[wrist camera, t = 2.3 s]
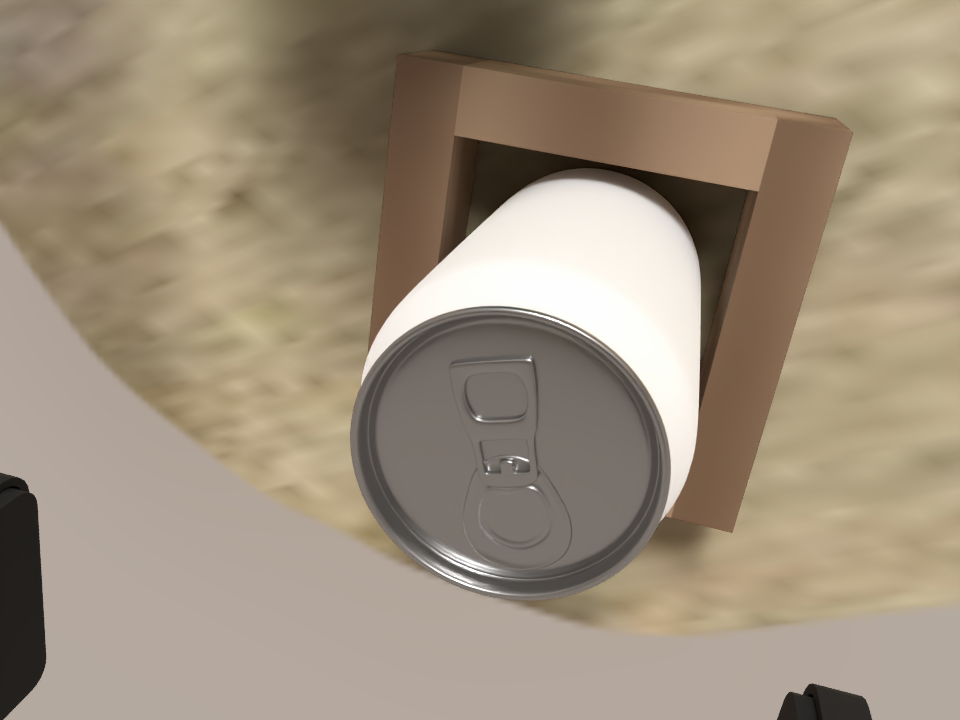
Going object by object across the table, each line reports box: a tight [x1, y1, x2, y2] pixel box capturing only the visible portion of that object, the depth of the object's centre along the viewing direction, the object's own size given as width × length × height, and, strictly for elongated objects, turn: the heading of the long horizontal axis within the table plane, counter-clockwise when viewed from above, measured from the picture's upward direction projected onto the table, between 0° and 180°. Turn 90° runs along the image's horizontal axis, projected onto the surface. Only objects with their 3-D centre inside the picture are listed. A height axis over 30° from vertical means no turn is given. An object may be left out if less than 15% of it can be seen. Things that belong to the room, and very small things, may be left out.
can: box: [350, 168, 701, 601], centre depth 21 cm, size 6×6×12 cm
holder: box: [368, 50, 853, 533], centre depth 25 cm, size 11×11×3 cm
